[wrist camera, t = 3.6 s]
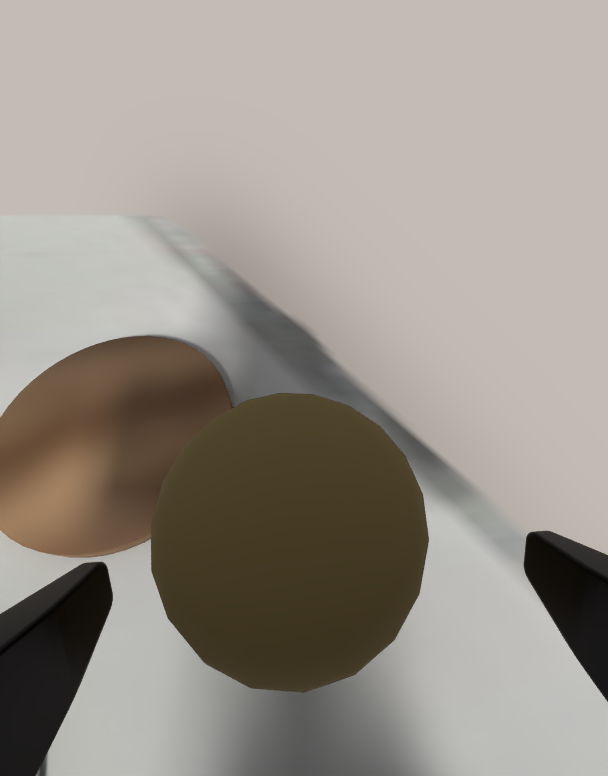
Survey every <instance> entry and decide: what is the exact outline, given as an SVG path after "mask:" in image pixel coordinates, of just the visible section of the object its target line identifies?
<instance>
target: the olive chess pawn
mask: <svg viewBox="0 0 608 776" xmlns="http://www.w3.org/2000/svg"><path fill="white" fill-rule="evenodd" d="M428 542H429V537H428V529H427V522H426V514H425V507H424V499H423V494H422V491H421V489H420V487H419V485H418V483H417V480H416V478H415V476H414V474H413V471H412V469H411V467H410V465H409V463H408V460H407V458H406V456H405V455H404V454H403V452H402V451H401V450H400V449H399V448H398V447H397V445H396V444H395V443H394V442H393V441H392V440H391V438H390V437H389V436H388V435H387V434H386V433H385V431H384V430H383V429H382V428H381V427H380V426H379V425H377V424H376V423H374V422H373V421H371V420H370V419H368V418H367V417H365V416H364V415H362V414H361V413H359V412H358V411H356V410H355V409H353V408H352V407H350V406H348V405H345V404H342V403H339V402H335V401H332V400H329V399H326V398H323V397H320V396H317V395H314V394H291V393H278V394H274V395H269V396H265V397H260V398H256V399H252V400H247V401H245V402H243V403H241V404H239V405H238V406H236V407H234V408H232V409H230V410H228V411H226V412H224V413H222V414H221V415H219V416H217V417H215V418H214V419H213V420H212V421H211V422H210V423H209V424H208V425H207V426H205V427H204V428H203V429H202V430H201V431H200V432H199V433H198V434H197V435H196V436H195V437H194V438H193V439H191V440H190V441H189V442H188V443H187V444H186V445H185V446H184V448H183V450H182V451H181V453H180V454H179V456H178V458H177V459H176V461H175V463H174V464H173V466H172V467H171V469H170V471H169V472H168V474H167V475H166V477H165V479H164V480H163V483H162V487H161V490H160V494H159V497H158V501H157V504H156V507H155V511H154V514H153V518H152V521H151V570H152V574H153V577H154V580H155V582H156V585H157V588H158V591H159V594H160V597H161V600H162V603H163V606H164V609H165V611H166V614H167V617H168V619H169V620H170V622H171V623H172V624H173V625H174V626H175V628H176V629H177V630H178V631H179V633H180V634H181V635H182V636H183V637H184V639H185V640H186V641H187V642H188V643H189V645H190V646H191V647H192V648H193V650H194V651H195V652H196V653H197V654H198V656H199V657H200V658H201V659H202V661H203V662H204V663H205V664H207V665H209V666H211V667H212V668H214V669H216V670H218V671H220V672H222V673H224V674H225V675H227V676H229V677H231V678H233V679H235V680H237V681H238V682H240V683H242V684H244V685H246V686H248V687H250V688H254V689H266V690H279V691H291V692H307V691H310V690H313V689H315V688H318V687H321V686H324V685H327V684H330V683H333V682H336V681H339V680H342V679H344V678H347V677H350V676H353V675H355V674H356V673H357V672H358V671H360V670H361V669H362V668H363V667H364V666H365V665H366V664H368V663H369V662H370V661H371V660H372V659H373V658H374V657H376V656H377V655H378V654H379V653H380V652H381V651H382V650H384V649H385V648H386V647H387V646H388V645H389V644H390V643H392V642H393V641H394V640H395V638H396V636H397V634H398V632H399V631H400V629H401V627H402V625H403V623H404V621H405V620H406V618H407V616H408V614H409V612H410V610H411V608H412V607H413V605H414V603H415V601H416V599H417V597H418V596H419V593H420V588H421V582H422V576H423V571H424V565H425V559H426V554H427V548H428Z"/></svg>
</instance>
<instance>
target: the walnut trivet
mask: <svg viewBox="0 0 608 776" xmlns="http://www.w3.org/2000/svg"><path fill="white" fill-rule="evenodd" d="M230 409H232V404H231V400H230V397H229V394H228V391H227V389H226V386H225V383H224V381H223V379H222V377H221V375H220V373H219V372H218V370H217V369H216V368H215V366H214V365H213V364H212V362H210V361H209V360H208V359H207V358H206V357H205V356H204V355H203V354H201V353H200V352H198V351H197V350H196V349H194V348H192V347H190V346H188V345H186V344H184V343H181V342H178V341H175V340H171V339H166V338H161V337H151V336H135V337H126V338H119V339H114V340H109V341H106V342H102V343H99V344H96V345H93V346H90V347H88V348H85V349H82V350H80V351H78V352H76V353H74V354H72V355H70V356H68V357H66V358H64V359H63V360H61V361H59V362H57V363H56V364H54V365H53V366H51V367H50V368H48V369H47V370H46V371H44V372H43V373H42V374H40V375H39V376H38V377H37V378H35V379H34V380H33V381H32V382H31V383H30V384H29V385H27V386H26V387H25V388H24V389H23V390H22V391H21V392H20V393H19V394H18V396H17V397H16V398H15V399H14V400H13V401H12V403H11V404H10V405H9V406H8V408H7V409H6V410H5V412H4V413H3V415H2V416H1V418H0V530H1V531H2V532H3V533H4V534H6V535H7V536H8V537H9V538H10V539H12V540H14V541H15V542H17V543H19V544H21V545H22V546H25V547H27V548H30V549H33V550H36V551H39V552H44V553H49V554H53V555H59V556H66V557H96V556H103V555H109V554H113V553H116V552H120V551H124V550H127V549H129V548H132V547H134V546H137V545H139V544H142V543H144V542H146V541H148V540H149V539H151V521H152V518H153V514H154V511H155V507H156V504H157V501H158V497H159V494H160V490H161V487H162V483H163V480H164V479H165V477H166V475H167V474H168V472H169V471H170V469H171V467H172V466H173V464H174V463H175V461H176V459H177V458H178V456H179V454H180V453H181V451H182V450H183V448H184V446H185V445H186V444H187V443H188V442H189V441H190V440H191V439H193V438H194V437H195V436H196V435H197V434H198V433H199V432H200V431H201V430H202V429H203V428H204V427H205V426H207V425H208V424H209V423H210V422H211V421H212V420H213V419H214V418H215V417H217V416H219V415H221V414H222V413H224V412H226V411H228V410H230Z"/></svg>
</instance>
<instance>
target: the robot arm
mask: <svg viewBox="0 0 608 776" xmlns="http://www.w3.org/2000/svg"><path fill="white" fill-rule="evenodd" d="M524 570H525V573H526V576H527V578H528V580H529V581H530V583H531V585H532V586H533V588H534V590H535V591H536V593H537V595H538V596H539V598H540V599H541V601H542V603H543V604H544V606H545V608H546V609H547V611H548V613H549V614H550V616H551V618H552V619H553V621H554V623H555V624H556V626H557V628H558V629H559V631H560V633H561V634H562V636H563V637H564V639H565V641H566V642H567V644H568V645H569V647H570V649H571V650H572V652H573V653H574V655H575V656H576V658H577V659H578V661H579V662H580V664H581V665H582V667H583V668H584V669H585V671H586V672H587V674H588V675H589V676H590V678H591V679H592V681H593V682H594V683H595V685H596V686H597V688H598V689H599V690H600V692H601V693H602V695H603V696H604V697H605V699H606V700H607V702H608V555H606V554H604V553H601V552H599V551H597V550H594V549H592V548H589V547H587V546H584V545H582V544H580V543H577V542H575V541H573V540H570V539H568V538H565V537H563V536H560V535H558V534H556V533H553V532H551V531H536V532H530V533H529V534H528V535H527V537H526V546H525V556H524ZM112 601H113V593H112V588H111V583H110V578H109V573H108V569H107V566H106V564H105V563H103V562H91V563H84V564H81V565H79V566H78V567H76V568H74V569H73V570H71V571H70V572H68V573H66V574H65V575H63V576H61V577H60V578H58V579H57V580H55V581H53V582H52V583H50V584H48V585H47V586H45V587H44V588H42V589H40V590H39V591H37V592H35V593H34V594H32V595H31V596H29V597H27V598H26V599H24V600H22V601H21V602H19V603H18V604H16V605H14V606H13V607H11V608H9V609H8V610H6V611H5V612H3V613H1V614H0V776H36V774H37V772H38V770H39V768H40V766H41V764H42V762H43V760H44V758H45V756H46V754H47V752H48V750H49V748H50V746H51V744H52V742H53V740H54V738H55V736H56V734H57V732H58V730H59V728H60V726H61V724H62V722H63V720H64V718H65V716H66V714H67V712H68V710H69V708H70V706H71V704H72V702H73V699H74V697H75V695H76V693H77V691H78V688H79V686H80V684H81V681H82V679H83V677H84V674H85V672H86V669H87V667H88V664H89V662H90V659H91V657H92V654H93V652H94V649H95V647H96V644H97V642H98V639H99V637H100V634H101V632H102V629H103V627H104V624H105V622H106V619H107V617H108V614H109V612H110V609H111V606H112Z"/></svg>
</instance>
